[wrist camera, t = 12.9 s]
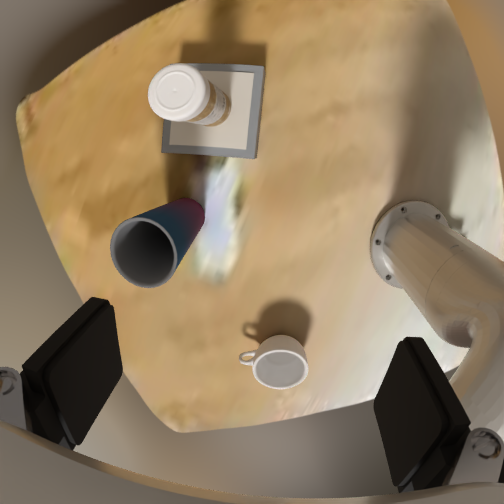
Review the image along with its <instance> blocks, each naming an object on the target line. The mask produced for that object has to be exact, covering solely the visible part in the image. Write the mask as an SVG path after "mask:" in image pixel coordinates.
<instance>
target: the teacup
mask: <svg viewBox="0 0 504 504" xmlns="http://www.w3.org/2000/svg"><path fill="white" fill-rule="evenodd" d="M247 355H250V356H254V357H253V358H251V359H250V360H247V361H245V360H242V357H243V356H247ZM239 361H240V362H241V363H242V364H244V365H252V366H253V374H254V376H255V378H256V379H257V380H258V381H259V382H260V383H261V384H263V385H265V386H267V387H270V388H274V389H287V388H291V387H294V386H296V385H298V384H300V383H301V382H302V381H303V380H304V379H305V378H306V376H307V374H308V363H307V358H306V354H305V350H304V348H303V347H302V345H301V344H300V343H299V342H298V341H297V340H296V339H294V338H292V337H290V336H286V335H276V336H272V337H270V338H268V339H266V340H265V341H264V342H262V343H261V345H260V346H259V347H258V349H257V350H253V351H248V352H244V353H242V354H240V356H239Z"/></svg>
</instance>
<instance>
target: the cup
mask: <svg viewBox="0 0 504 504" xmlns="http://www.w3.org/2000/svg"><path fill="white" fill-rule="evenodd" d="M204 220H205V215H204V211H203V208H202V207H201V205H200V204H199V203H198V202H197V201H195V200H193V199H190V198H181V199H178V200H176V201H173V202H170V203H168V204H165V205H163V206H160V207H157V208H155V209H152V210H150V211H147V212H145V213H142V214H140V215H137V216H135V217H132V218H130V219H127V220H125V221H124V222H122V223H121V224H120V225H119V226H118V227H117V228H116V229H115V231H114V233H113V235H112V239H111V244H110V251H111V257H112V260H113V263H114V265H115V267H116V269H117V270H118V272H119V273H120V274H121V275H122V276H123V277H124V278H125V279H126V280H127V281H129V282H130V283H132V284H134V285H136V286H140V287H144V288H154V287H158V286H161V285H162V284H164V283H166V282H167V281H168V280H169V279H170V278H171V277H172V275H173V274H174V272H175V270H176V269H177V267H178V265H179V264H180V262H181V260H182V259H183V257H184V255H185V254H186V252H187V250H188V249H189V247H190V245H191V244H192V242H193V240H194V239H195V237H196V236H197V234H198V232H199V231H200V229H201V227H202V226H203V224H204Z"/></svg>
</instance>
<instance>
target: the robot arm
mask: <svg viewBox="0 0 504 504" xmlns="http://www.w3.org/2000/svg"><path fill="white" fill-rule="evenodd" d="M402 207H403V210H401V208H402ZM436 214H437V215H436ZM435 216H436V217H435ZM377 239H378V241H377V242H375V241H376V240H377ZM370 255H371V260H372V264H373V266H374V268H375V270H376V272H377V273H378V275H379V276H380V277H381V278H382V279H383V280H384V281H385V282H386V283H388V284H389V285H391V286H393V287H396V288H400V289H404V290H405V292H406V293H407V294H408V296H409V297H410V298H411V300H412V301H413V302H414V304H415V305H416V306H417V308H418V309H419V310H420V312H421V313H422V315H423V316H424V317H425V319H426V320H427V322H428V323H429V324H430V326H431V327H432V328H433V330H434V331H435V332H436V334H437V335H438V336H439V337H440V338H441V339H443V340H444V341H445V342H447V343H449V344H451V345H454V346H457V347H464V348H470V349H469V351H468V353H467V354H466V356H465V357H464V359H463V361H462V362H461V364H460V365H459V368H458V369H457V371H456V372H455V373H454V375H453V376H452V378H451V379H450V380H449V381H448V379H447V377H446V376H445V374H444V372H443V371H442V369H441V367H440V365H439V364H438V362H437V360H436V359H435V357H434V355H433V354H432V352H431V350H430V349H429V347H428V346H427V344H426V342H425V341H424V339H423V338H421V337H406V338H404V340H403V341H400V342H399V343H398V345H397V348H396V351H395V353H394V356H393V358H392V361H391V363H390V365H389V368H388V370H387V373H386V375H385V377H384V380H383V382H382V384H381V386H380V389H379V391H378V393H377V395H376V397H375V400H374V412H375V415H376V419H377V422H378V426H379V430H380V434H381V437H382V441H383V445H384V449H385V453H386V457H387V461H388V465H389V469H390V474H391V478H392V482H393V485H394V486H397V487H398V491H399V493H396V494H387V495H379V496H367V497H354V498H334V499H333V498H332V499H300V498H277V497H263V496H252V495H243V494H235V493H227V492H221V491H214V490H207V489H202V488H197V487H192V486H187V485H182V484H178V483H173V482H169V481H165V480H161V479H156V478H153V477H149V476H145V475H142V474H138V473H135V472H132V471H128V470H125V469H122V468H119V467H116V466H113V465H110V464H107V463H104V462H101V461H98V460H96V459H93V458H90V457H88V456H85V455H82V454H80V453H77V452H75V451H73V449H74V448H75V446H76V445H80V444H81V443H82V442H83V440H84V438H85V436H86V435H87V433H88V431H89V430H90V428H91V426H92V424H93V423H94V421H95V419H96V418H97V416H98V414H99V412H100V411H101V409H102V408H103V406H104V404H105V402H106V401H107V399H108V398H109V396H110V394H111V393H112V391H113V389H114V387H115V386H116V384H117V383H118V381H119V379H120V377H121V376H122V372H123V366H122V361H121V355H120V349H119V342H118V335H117V328H116V320H115V312H114V307H113V306H112V305H110V303H109V301H108V300H105V299H100V298H96V297H91V298H90V299H89V300H88V301H87V302H86V303H85V304H84V305H83V306H82V307H80V308H79V309H78V310H77V311H76V312H75V313H74V314H73V315H72V316H71V317H70V318H69V319H68V320H67V321H66V322H65V323H64V324H63V325H62V326H61V327H59V328H58V329H57V330H56V331H55V332H54V333H53V334H52V335H51V336H50V337H49V338H48V339H47V340H46V341H45V342H44V343H43V344H42V345H41V346H40V347H39V348H38V349H37V350H36V352H34V353H33V354H32V355H31V357H30V358H29V359H28V360H27V361H26V362H25V363H24V364H23V365H22V368H23V371H22V372H21V373H20V374H19V373H18V371H16V370H15V369H13V368H9V367H0V504H504V262H503V261H502V260H500V259H498V258H497V257H495V256H494V255H492V254H491V253H489V252H488V251H486V250H484V249H483V248H481V247H480V246H478V245H477V244H475V243H473V242H472V241H470V240H468V239H467V238H465V237H464V236H462V235H460V234H459V233H457V232H455V231H454V230H452V229H450V227H449V225H448V222H447V220H446V218H445V217H444V215H443V214H442V213H441V212H440V211H439V210H438V209H437V208H436V207H434V206H432V205H431V204H428V203H426V202H422V201H418V200H414V201H406V202H402V203H400V204H397V205H395V206H394V207H392V208H391V209H389V210H388V211H387V212H386V213H385V214H384V215H383V216H382V217H381V218H380V220H379V221H378V223H377V224H376V227H375V229H374V231H373V234H372V238H371V242H370ZM387 275H388V276H387Z"/></svg>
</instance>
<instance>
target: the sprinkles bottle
mask: <svg viewBox="0 0 504 504" xmlns="http://www.w3.org/2000/svg"><path fill="white" fill-rule="evenodd" d="M148 100H149V104H150V106H151V108H152V109H153V111H154V112H155V113H156V114H157V115H158V116H160V117H162V118H164V119H167V120H171V121H177V122H182V121H185V122H190V123H195V124H200V125H204V126H207V127H210V126H211V127H213V126H217V125H220V124H222V123H223V122H224V121H225V120H226V119H227V118H228V116H229V114H230V112H231V102H230V100H229V98H228V96H227V95H226V94H225V93H224V92H223V91H221V90H220V89H219V88H218V87H217V86H216V85H215V84H213V83H212V82H211V81H210V80H208V79H207V78H206V76H205V75H204V74H203V73H202V72H201V71H199V70H198V69H197V68H195V67H193V66H191V65H189V64H185V63H175V64H171V65H168V66H166V67H164V68H162V69H161V70H160V71H159V72H158V73H157V74H156V75H155V76H154V77H153V79H152V81H151V83H150V85H149V89H148Z"/></svg>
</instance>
